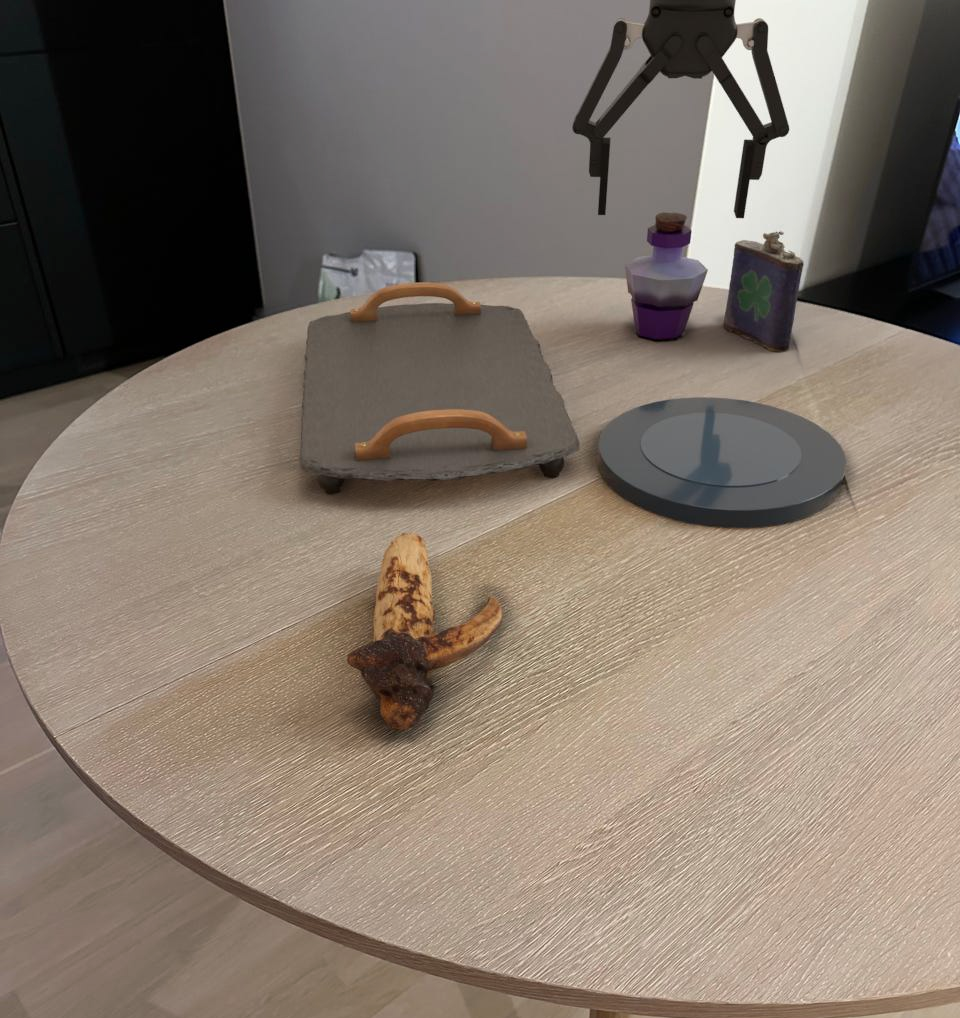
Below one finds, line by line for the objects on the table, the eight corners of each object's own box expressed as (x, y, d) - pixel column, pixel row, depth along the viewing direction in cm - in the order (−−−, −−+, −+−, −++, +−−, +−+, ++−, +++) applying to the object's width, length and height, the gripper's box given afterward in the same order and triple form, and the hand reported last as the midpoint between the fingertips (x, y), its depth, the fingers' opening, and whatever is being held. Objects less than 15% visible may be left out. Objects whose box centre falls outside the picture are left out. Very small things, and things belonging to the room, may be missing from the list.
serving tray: (310, 335, 105) (302, 277, 101) (519, 322, 107) (520, 265, 103) (300, 517, 75) (289, 445, 71) (592, 495, 77) (597, 423, 73)
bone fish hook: (508, 743, 55) (498, 563, 69) (512, 682, 52) (500, 507, 66) (346, 743, 55) (368, 562, 69) (340, 682, 52) (364, 506, 66)
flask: (717, 326, 105) (732, 222, 98) (738, 321, 106) (755, 218, 100) (775, 354, 99) (795, 246, 92) (797, 348, 100) (818, 241, 93)
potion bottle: (665, 312, 109) (677, 199, 101) (716, 336, 103) (733, 218, 95) (603, 327, 105) (610, 211, 98) (652, 353, 99) (664, 231, 92)
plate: (821, 417, 87) (825, 399, 86) (863, 534, 71) (869, 515, 70) (599, 409, 89) (600, 392, 88) (593, 521, 74) (595, 502, 72)
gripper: (551, -43, 82) (543, 220, 95) (853, -44, 79) (802, 226, 92) (556, -48, 87) (548, 200, 101) (838, -50, 85) (791, 205, 98)
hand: (669, 213), depth 97 cm, fingers open, 13 cm apart
